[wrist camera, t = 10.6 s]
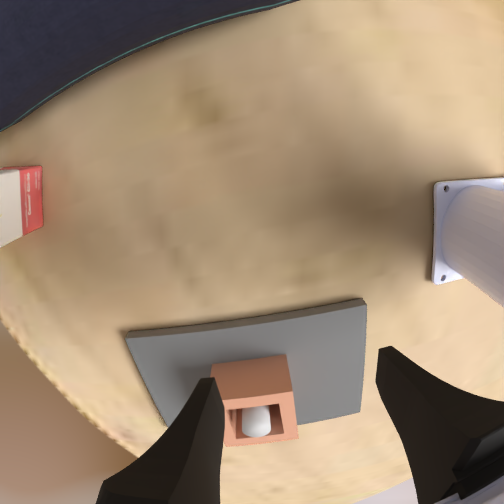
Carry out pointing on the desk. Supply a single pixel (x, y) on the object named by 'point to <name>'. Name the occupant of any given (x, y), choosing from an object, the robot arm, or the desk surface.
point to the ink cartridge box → (20, 202)
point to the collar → (256, 397)
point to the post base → (259, 346)
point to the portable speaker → (89, 40)
